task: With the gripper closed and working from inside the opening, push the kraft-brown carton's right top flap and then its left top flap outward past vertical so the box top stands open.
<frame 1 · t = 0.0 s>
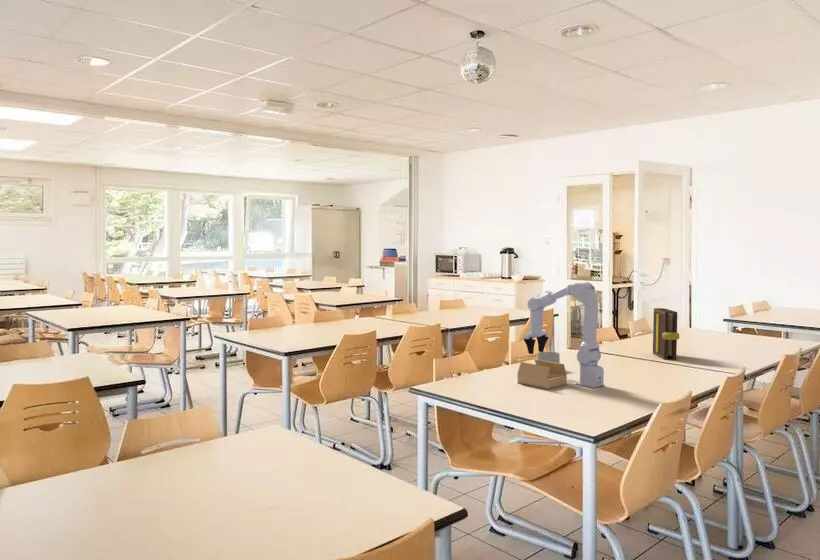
hand: (535, 352, 292), 10 cm above the table, fingers open, 7 cm apart
flap left: (533, 370, 268), point 7 cm above the table, hinge at 65.0°
carton: (541, 383, 273), on the table
book: (664, 357, 337), on the table
flap right: (550, 367, 276), point 7 cm above the table, hinge at 65.0°
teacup: (549, 369, 306), on the table
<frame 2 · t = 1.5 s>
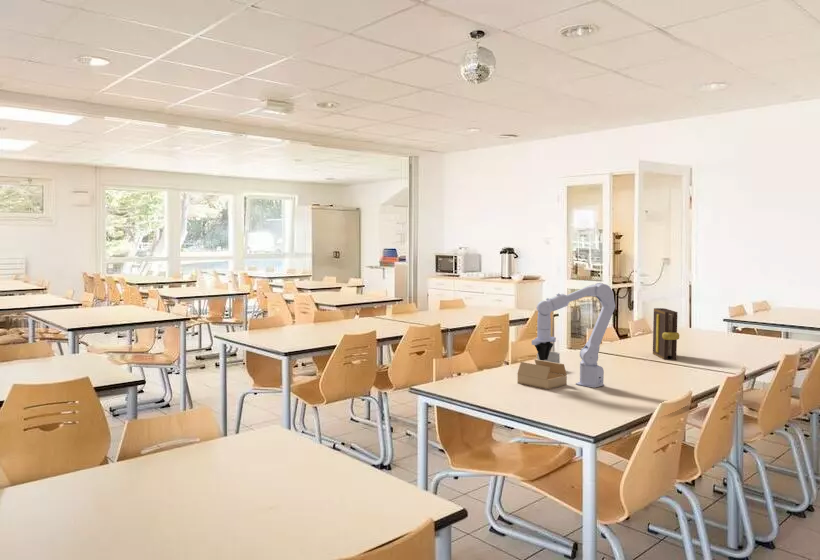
hand: (543, 359, 273), 10 cm above the table, fingers closed
nothing on the table moved.
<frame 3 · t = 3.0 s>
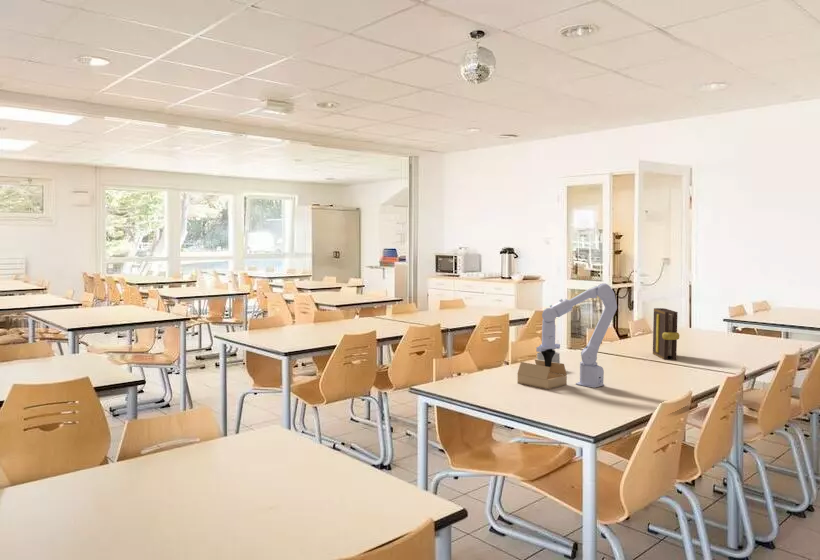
hand: (547, 366, 275), 7 cm above the table, fingers closed, pressing on flap right
flap right: (550, 367, 276), point 7 cm above the table, hinge at 66.0°, touching gripper
everything else where it was.
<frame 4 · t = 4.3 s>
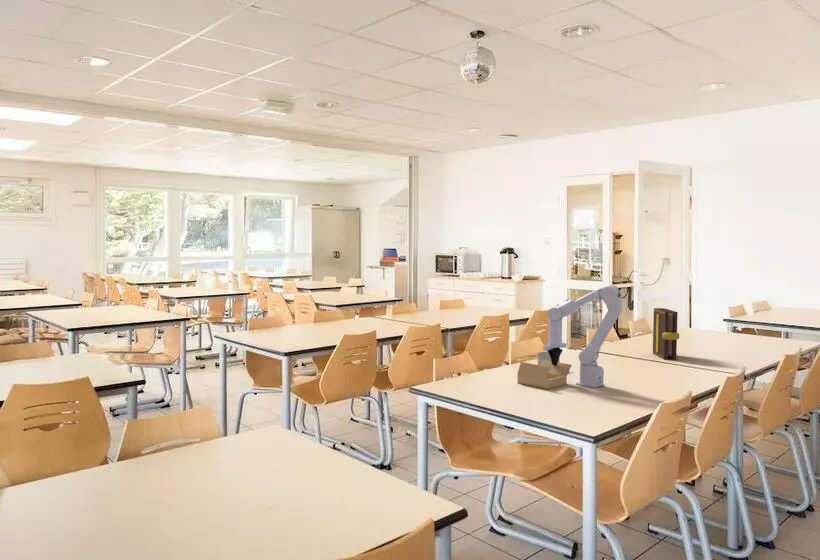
hand: (554, 365, 278), 7 cm above the table, fingers closed, pressing on flap right
flap right: (554, 367, 278), point 6 cm above the table, hinge at 129.5°, touching gripper
everything else where it was.
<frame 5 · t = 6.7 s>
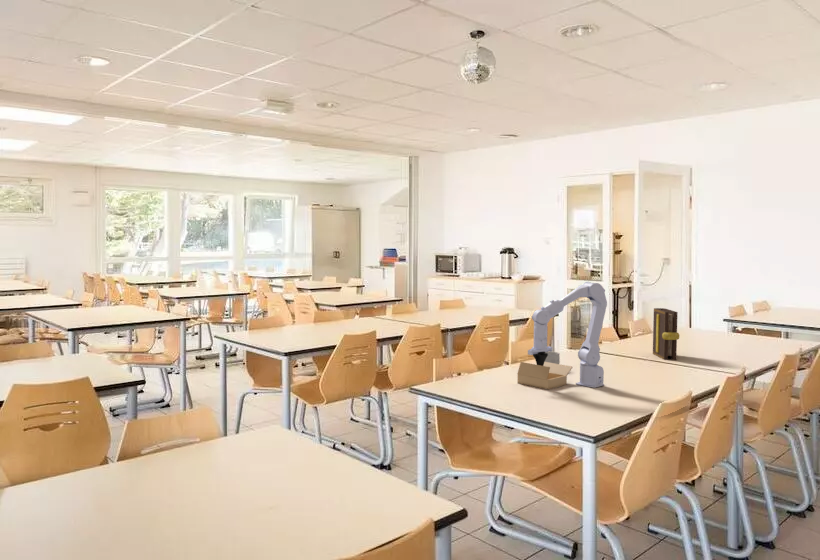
hand: (540, 369, 268), 7 cm above the table, fingers closed, pressing on flap left
flap left: (533, 370, 268), point 7 cm above the table, hinge at 65.5°, touching gripper
flap right: (554, 368, 278), point 5 cm above the table, hinge at 143.5°
everything else where it was.
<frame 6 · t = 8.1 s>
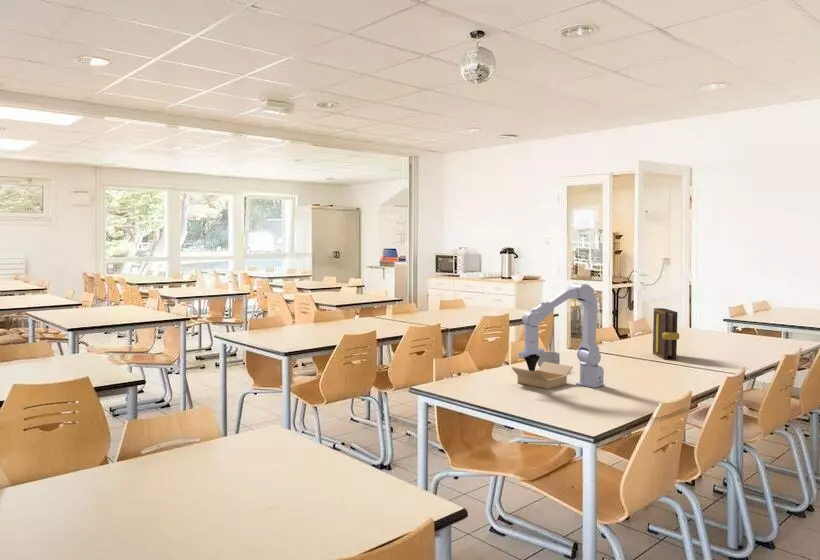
hand: (531, 372, 264), 7 cm above the table, fingers closed, pressing on flap left
flap left: (528, 373, 266), point 6 cm above the table, hinge at 137.6°, touching gripper
everything else where it was.
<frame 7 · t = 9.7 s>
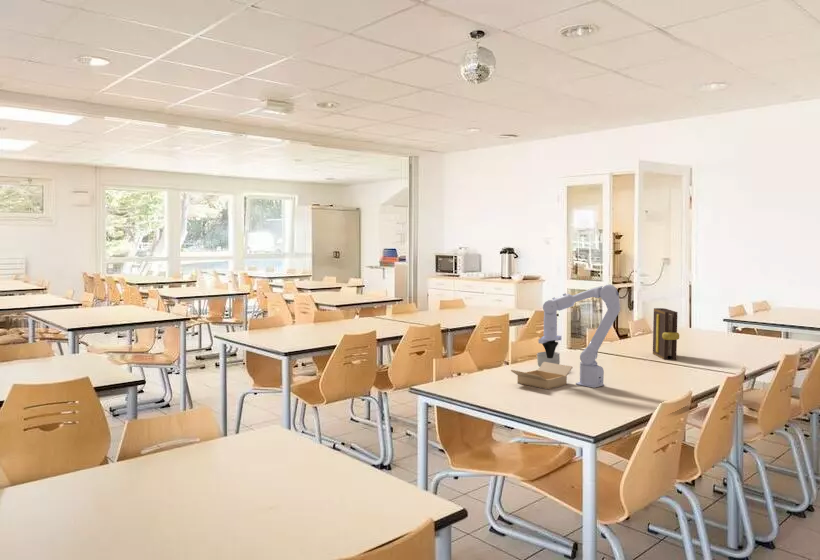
hand: (549, 358, 277), 10 cm above the table, fingers closed
flap left: (528, 375, 266), point 5 cm above the table, hinge at 151.1°
everything else where it was.
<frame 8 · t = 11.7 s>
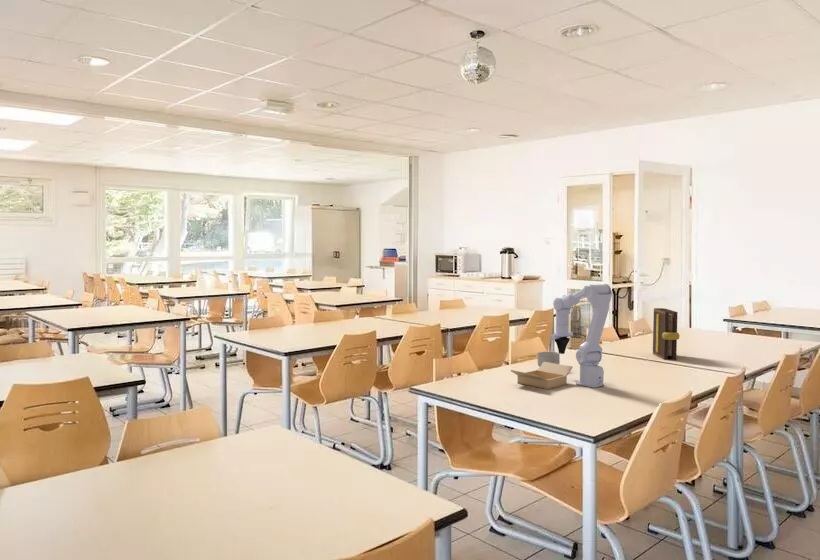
hand: (561, 353, 288), 10 cm above the table, fingers closed
flap left: (528, 375, 266), point 5 cm above the table, hinge at 152.1°
everything else where it was.
at the end: flap right at +144° (first picture: +65°); flap left at +152° (first picture: +65°) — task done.
